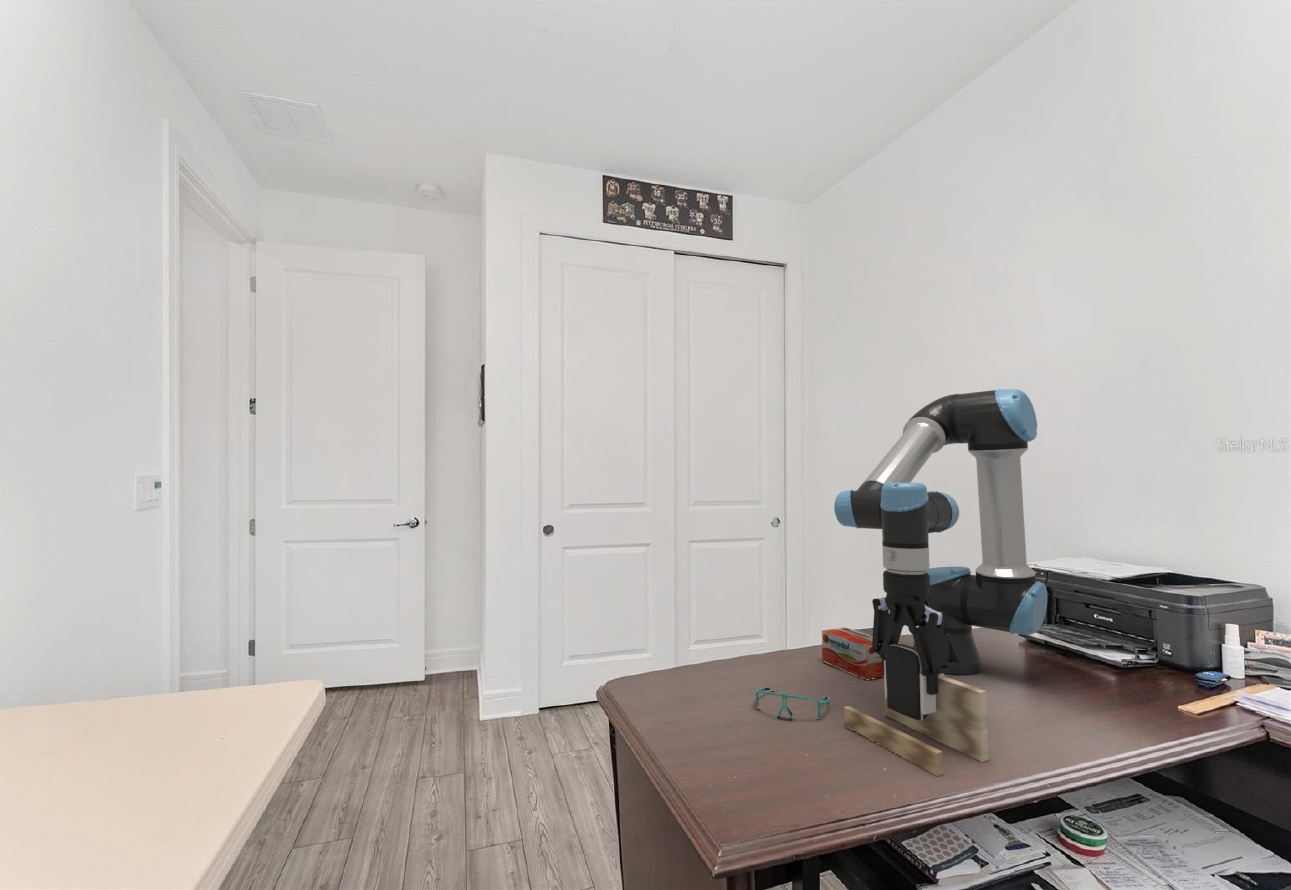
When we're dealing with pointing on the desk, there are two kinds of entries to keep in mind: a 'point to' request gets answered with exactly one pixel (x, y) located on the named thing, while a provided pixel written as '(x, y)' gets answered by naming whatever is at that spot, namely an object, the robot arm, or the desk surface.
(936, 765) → the wooden boards
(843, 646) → the medicine box
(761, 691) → the sunglasses
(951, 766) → the desk surface
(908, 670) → the battery charger
